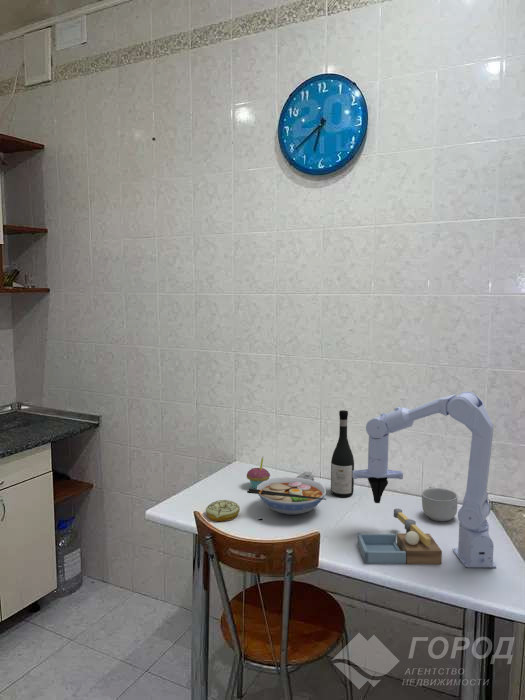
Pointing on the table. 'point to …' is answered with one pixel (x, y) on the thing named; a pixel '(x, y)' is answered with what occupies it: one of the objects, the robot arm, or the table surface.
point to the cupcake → (257, 475)
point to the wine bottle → (342, 462)
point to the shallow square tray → (380, 549)
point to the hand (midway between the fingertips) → (376, 501)
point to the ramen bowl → (290, 494)
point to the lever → (412, 526)
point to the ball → (412, 538)
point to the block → (419, 551)
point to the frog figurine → (306, 476)
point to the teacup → (439, 503)
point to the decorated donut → (222, 510)
